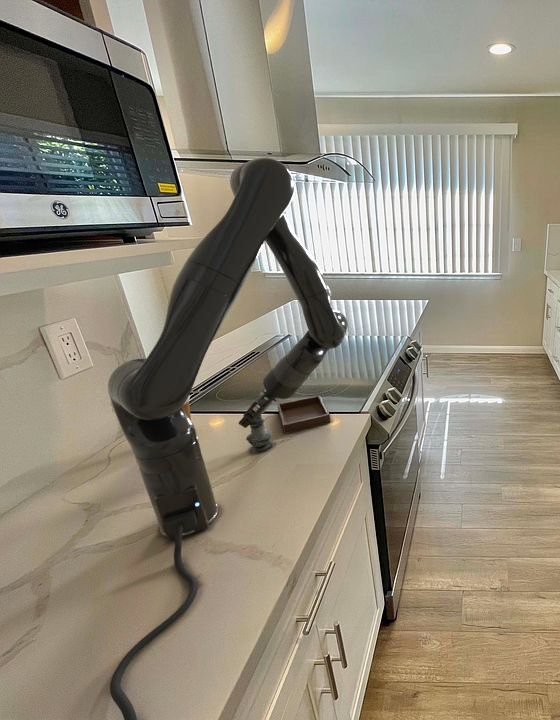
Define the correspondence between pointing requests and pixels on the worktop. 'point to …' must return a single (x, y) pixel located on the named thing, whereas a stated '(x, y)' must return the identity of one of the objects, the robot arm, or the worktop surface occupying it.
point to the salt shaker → (259, 436)
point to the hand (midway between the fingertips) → (248, 419)
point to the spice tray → (303, 414)
